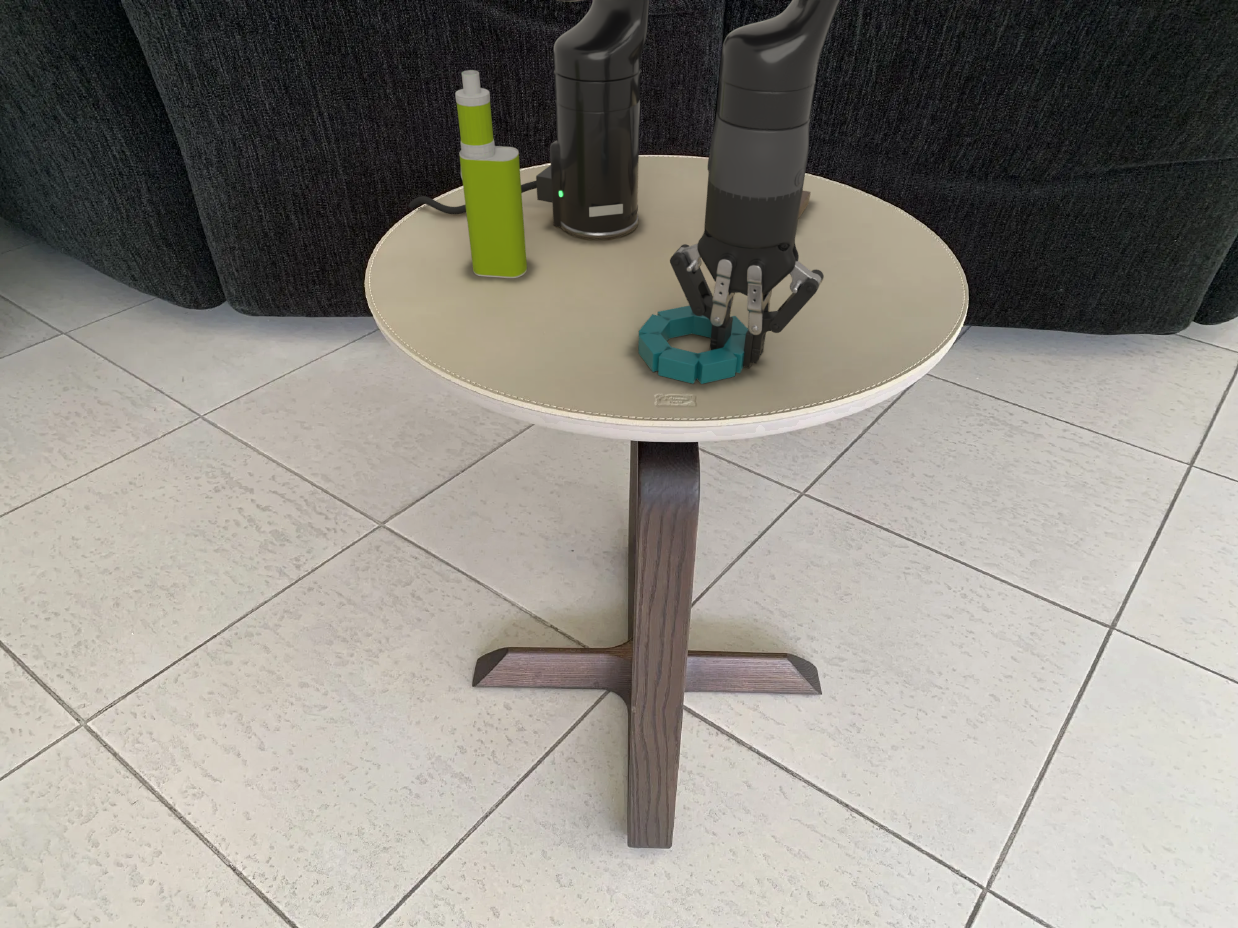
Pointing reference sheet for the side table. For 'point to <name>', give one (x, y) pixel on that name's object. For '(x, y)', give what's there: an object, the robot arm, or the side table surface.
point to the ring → (686, 362)
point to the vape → (489, 187)
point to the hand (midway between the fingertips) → (735, 359)
